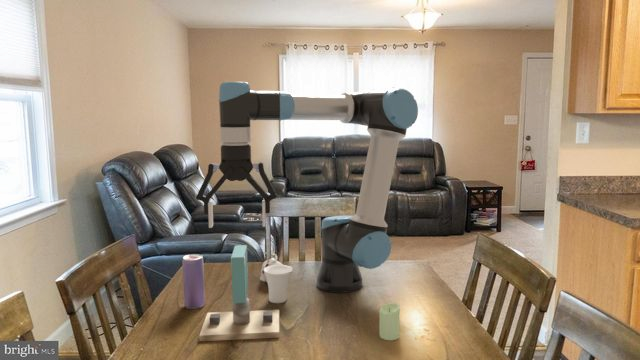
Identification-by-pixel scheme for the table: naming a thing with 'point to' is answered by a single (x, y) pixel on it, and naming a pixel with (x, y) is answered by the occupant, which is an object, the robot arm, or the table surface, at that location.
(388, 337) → the candle
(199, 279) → the beverage can
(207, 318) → the post base
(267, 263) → the white ceramic figurine
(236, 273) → the teal rectangular panel
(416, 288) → the table surface
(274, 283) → the cup
